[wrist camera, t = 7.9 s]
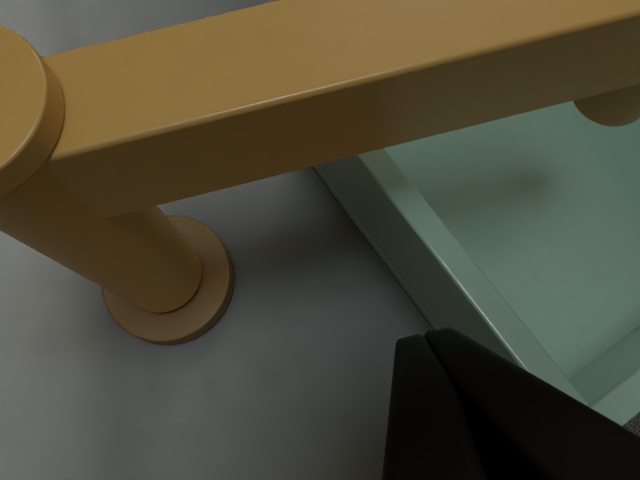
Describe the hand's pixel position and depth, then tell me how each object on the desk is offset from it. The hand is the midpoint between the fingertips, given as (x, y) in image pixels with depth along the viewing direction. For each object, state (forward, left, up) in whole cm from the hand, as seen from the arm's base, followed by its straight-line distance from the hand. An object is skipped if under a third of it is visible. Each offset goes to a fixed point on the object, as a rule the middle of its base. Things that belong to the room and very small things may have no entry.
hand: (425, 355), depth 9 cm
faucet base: (+6, +4, -9) cm, 12 cm away
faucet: (+5, -1, -8) cm, 9 cm away
